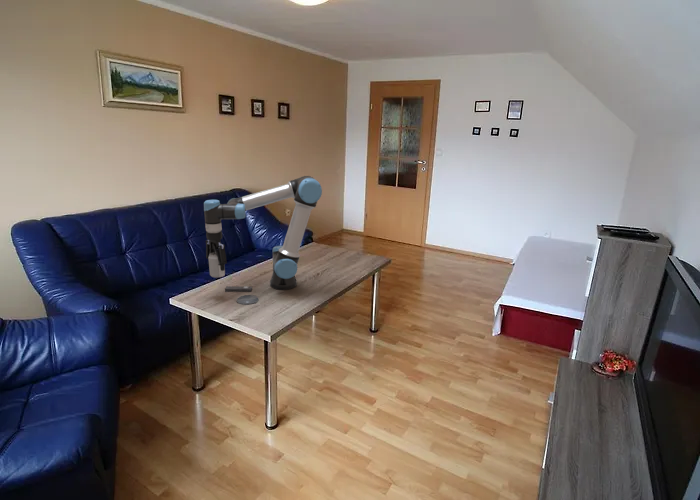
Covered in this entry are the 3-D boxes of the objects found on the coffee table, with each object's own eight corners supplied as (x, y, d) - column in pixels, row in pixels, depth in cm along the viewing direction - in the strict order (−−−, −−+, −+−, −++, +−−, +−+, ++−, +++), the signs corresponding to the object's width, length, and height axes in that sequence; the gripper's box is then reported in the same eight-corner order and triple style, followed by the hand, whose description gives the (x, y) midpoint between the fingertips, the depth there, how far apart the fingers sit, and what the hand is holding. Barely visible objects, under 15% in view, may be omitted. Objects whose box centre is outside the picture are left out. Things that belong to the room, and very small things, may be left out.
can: (225, 272, 210) (224, 250, 207) (224, 277, 204) (222, 255, 200) (210, 273, 209) (208, 251, 205) (209, 278, 202) (207, 255, 198)
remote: (224, 292, 218) (224, 288, 217) (226, 289, 222) (226, 285, 221) (251, 292, 219) (250, 288, 219) (252, 289, 223) (252, 285, 222)
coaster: (249, 294, 216) (249, 293, 216) (262, 300, 209) (262, 299, 209) (232, 300, 208) (232, 299, 208) (245, 306, 201) (245, 305, 201)
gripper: (196, 229, 203) (200, 271, 209) (218, 236, 190) (222, 281, 197) (209, 226, 208) (213, 267, 215) (232, 233, 196) (235, 277, 203)
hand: (217, 274), depth 206 cm, fingers closed on can, 7 cm apart
